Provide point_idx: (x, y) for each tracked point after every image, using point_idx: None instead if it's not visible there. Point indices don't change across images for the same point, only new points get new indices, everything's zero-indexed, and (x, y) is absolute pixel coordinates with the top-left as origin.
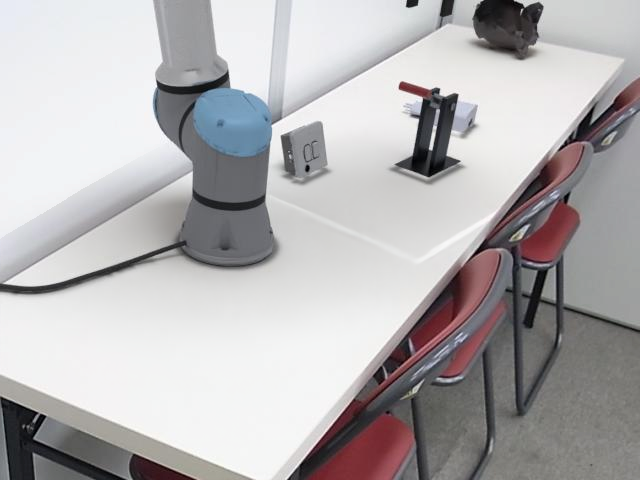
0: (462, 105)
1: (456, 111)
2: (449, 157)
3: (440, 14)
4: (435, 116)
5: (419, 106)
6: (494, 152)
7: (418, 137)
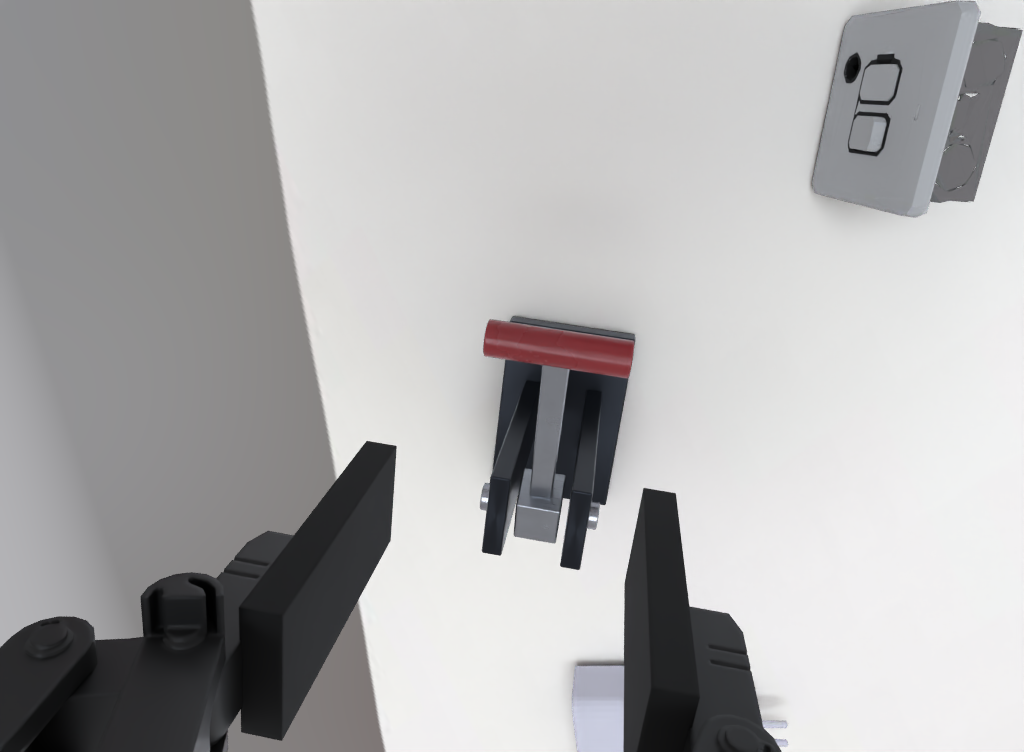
0: None
1: (609, 718)
2: None
3: (388, 450)
4: None
5: None
6: (464, 616)
7: (589, 420)
